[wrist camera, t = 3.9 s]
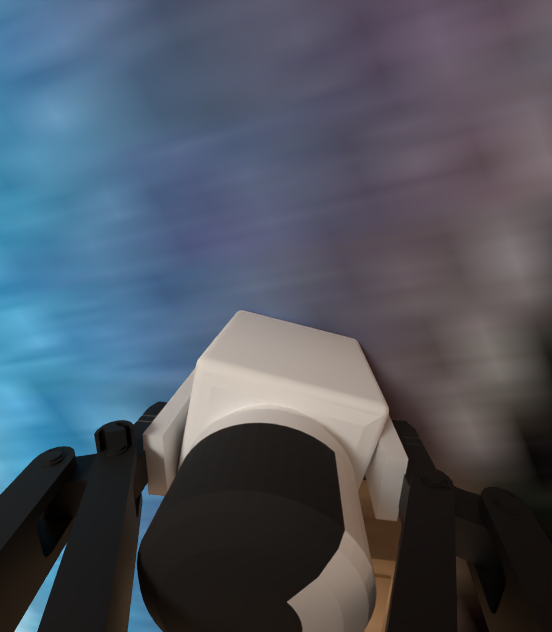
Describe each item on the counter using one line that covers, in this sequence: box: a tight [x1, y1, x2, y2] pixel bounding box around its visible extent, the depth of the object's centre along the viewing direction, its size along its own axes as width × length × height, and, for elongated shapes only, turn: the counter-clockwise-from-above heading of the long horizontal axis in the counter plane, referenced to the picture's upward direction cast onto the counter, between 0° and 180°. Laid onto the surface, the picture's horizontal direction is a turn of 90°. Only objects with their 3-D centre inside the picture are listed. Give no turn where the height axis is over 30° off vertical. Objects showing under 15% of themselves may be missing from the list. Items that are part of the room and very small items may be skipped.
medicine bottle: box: [137, 311, 389, 632], centre depth 13 cm, size 7×7×12 cm
